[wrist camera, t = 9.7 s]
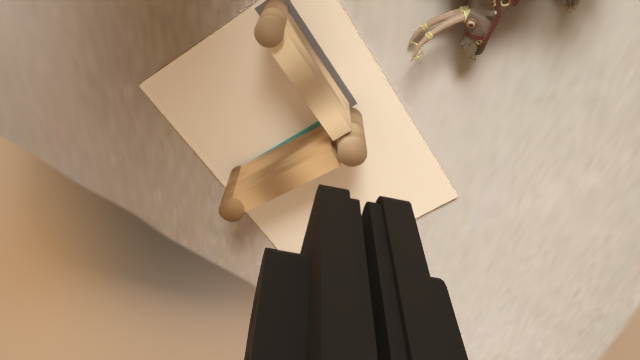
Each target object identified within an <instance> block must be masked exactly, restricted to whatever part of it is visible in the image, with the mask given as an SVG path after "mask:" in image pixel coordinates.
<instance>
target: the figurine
mask: <svg viewBox="0 0 640 360" xmlns="http://www.w3.org/2000/svg"><path fill="white" fill-rule="evenodd" d="M519 1H520V0H470V1H469V2H468V3H467V4H466V5H465V6H460V8H459V9H455V10H451V11H448V12H446V13H443V14H441V15H439V16H437V17H435V18H433V19H431V20H429V21H428V22H425V23H423V24H422V25H421V27H420V28H419V29H418V30H417V31H416V32H415V33H414V34H413V36H412V38H411V40H410V42H409V45H408V47H409V46H410V45H411V44H412V43H413V44H415V42H414V39H415V38H416V37H417V36H418V35H419V34H420V33H422V32H423V31H426V30H427V31H428V29H429V28H430V27H431V26H433V25H435V24H437V23H440V22H442V23H440V24H439V25H437V26H436V27H434V28H433V29H432V30H430V31H428V32H427V33H426V34H425V36H424V37H423V38H422V40H421V41H420V42H419V43H418V44H417V43H416V44H415V45H417V47H416V49H415V51H414V54H413V56H412V59H411V61H412V60H413V59H414V58H415V57H416V58H415V59H418V58H419V57H420V56H421V55H422V54H423V49H422V48H421V47H422V46H423V45H424V44H425V43H426V42H427V41H428V40H430V39H431V38H432V37H433V36H434V35H436V34H437V33H439V32H441V31H442V30H444V29H446V28H448V27H450V26H452V25H455V24H457V23H460V22H464V23H465V24H466V28H465V31H464V37H463V39H462V41H461V42H460V44H459V45H460V46H461V47H462V48H463V49H464V54H465V56H466V57H467V58H469V59H473V60H475V55H480V54H481V53H482V52H483V51H484V49H485V46H486V43H487V41H488V40H489V38H490V36H491V34H492V32H493V30H494V28H495V27H496V24H497V22H498V20H499V17H500V15H501V14H503V13H504V12H505V11H507V10H508V9H509V8H510V7H511V6H516V4H517V3H518V2H519ZM578 4H579V0H566V5H565V7H566V12H568V11H569V12H571V11H572V9H573V8H574V10H576V8H577V6H578ZM419 49H421V52H422V53H421V54H420V55H418V56H416V54H417V52H418V51H419Z"/></svg>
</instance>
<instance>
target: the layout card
mask: <svg viewBox="0 0 640 360" xmlns="http://www.w3.org/2000/svg"><path fill="white" fill-rule="evenodd" d="M268 1H269V0H260V1H258V2H257V3H255V4H254V5H253V6H251V7H250V8H248V9H247V10H245V11H244V12H242V13H241V14H240V15H238V16H237V17H235V18H234V19H232V20H231V21H230V22H228V23H227V24H225V25H224V26H222V27H221V28H220V29H218V30H217V31H215V32H214V33H212V34H211V35H209V36H208V37H207V38H205V39H204V40H202V41H201V42H199V43H198V44H197V45H195V46H194V47H192V48H191V49H189V50H188V51H187V52H185V53H184V54H182V55H181V56H179V57H178V58H176V59H175V60H174V61H172V62H171V63H169V64H168V65H166V66H165V67H164V68H162V69H161V70H159V71H158V72H156V73H155V74H154V75H152V76H151V77H149V78H148V79H146V80H145V81H143V82H142V83H141V84H140V85H139V87H140V88H141V89H142V90H143V92H144V93H145V94H146V95H147V96H148V97H149V99H150V100H151V101H152V102H153V103H154V105H155V106H156V107H157V108H158V109H159V110H160V112H161V113H162V114H163V115H164V116H165V117H166V119H167V120H168V121H169V122H170V123H171V124H172V126H173V127H174V128H175V129H176V130H177V132H178V133H179V134H180V135H181V136H182V137H183V139H184V140H185V141H186V142H187V143H188V144H189V146H190V147H191V148H192V149H193V150H194V151H195V153H196V154H197V155H198V156H199V157H200V159H201V160H202V161H203V162H204V163H205V164H206V166H207V167H208V168H209V169H210V170H211V171H212V173H213V174H214V175H215V176H216V177H217V178H218V180H219V181H220V182H221V183H222V184H223V186H224V187H225V188H226V185H227V182H228V179H229V176H230V173H231V170H232V169H233V168H234V167H236V166H242V165H244V164H246V163H248V162H250V161H252V160H254V159H256V158H258V157H260V156H262V155H264V154H266V153H268V152H270V151H272V150H274V149H276V148H278V147H279V146H281V145H283V144H285V143H287V142H289V141H291V140H293V139H295V138H297V137H299V136H301V135H303V134H305V133H307V132H309V131H311V130H313V129H315V128H317V127H319V126H321V123H320V122H319V120H318V119H317V117H316V116H315V115H314V113H313V112H312V110H311V109H310V108H309V106H308V105H307V103H306V102H305V100H304V99H303V98H302V96H301V95H300V93H299V92H298V91H297V89H296V88H295V86H294V85H293V83H292V82H291V81H290V79H289V78H288V76H287V75H286V74H285V72H284V71H283V69H282V68H281V66H280V65H279V64H278V62H277V61H276V59H275V58H274V57H273V55H272V54H271V52H270V51H269V49H268V48H267V47H263V46H262V45H260V44H259V43H258V42H257V41H256V39H255V36H254V29H255V26H256V24H257V22H258V19H259V17H260V15H261V13H262V11H263V9H264V6H265V4H266V3H267V2H268ZM284 1H285V2H286V3H287V5H288V7H289V13H290V15H291V16H292V18H293V19H294V21H295V22H296V24H297V25H298V27H299V28H300V30H301V31H302V33H303V34H304V36H305V37H306V39H307V40H308V42H309V43H310V45H311V46H312V48H313V49H314V51H315V52H316V54H317V55H318V57H319V58H320V60H321V61H322V63H323V64H324V66H325V67H326V69H327V70H328V72H329V73H330V75H331V76H332V78H333V79H334V81H335V82H336V84H337V85H338V87H339V88H340V90H341V91H342V93H343V95H344V96H345V98H346V99H347V101H348V102H349V107H353V108H356V109H357V110H359V111H360V113H361V115H362V119H363V126H364V133H365V140H366V147H367V158H366V160H365V161H364V162H363V163H362V164H361V165H359V166H355V167H349V166H346V165H344V164H343V163H342V162H341V166H340V167H338V168H336V169H334V170H332V171H330V172H328V173H326V174H324V175H322V176H320V177H318V178H315V179H313V180H311V181H309V182H307V183H305V184H303V185H301V186H299V187H297V188H295V189H293V190H291V191H288V192H286V193H284V194H282V195H280V196H278V197H276V198H274V199H272V200H270V201H268V202H266V203H264V204H261V205H259V206H257V207H255V208H253V209H251V210H249V211H247V212H246V213H247V214H248V215H249V216H250V217H251V218H252V220H253V221H254V222H255V223H256V224H257V225H258V227H259V228H260V229H261V230H262V231H263V232H264V234H265V235H266V236H267V237H268V238H269V240H270V241H271V242H272V243H273V244H274V245H275V247H276V248H277V249H278V250H282V251H288V252H293V253H299V254H300V252H301V248H302V244H303V240H304V237H305V233H306V229H307V225H308V221H309V217H310V214H311V210H312V206H313V202H314V198H315V195H316V191H317V188H318V186H319V184H322V185H327V186H332V187H337V188H342V189H348V190H349V191H350V198H353V199H358V200H359V201H360V208H361V215H362V212H363V209H364V206H365V204H366V202H367V201H368V202H374V203H376V200H377V199H378V197H379V196H384V197H389V198H394V199H399V200H405V201H409V202H410V203H411V205H412V209H413V213H414V217H415V218H417V217H419V216H421V215H423V214H425V213H427V212H429V211H431V210H433V209H435V208H437V207H439V206H441V205H443V204H445V203H447V202H449V201H451V200H453V199H455V198H457V197H458V195H457V193H456V191H455V190H454V188H453V186H452V185H451V183H450V182H449V180H448V178H447V177H446V175H445V173H444V172H443V170H442V169H441V167H440V165H439V164H438V162H437V160H436V159H435V157H434V155H433V154H432V152H431V151H430V149H429V147H428V146H427V144H426V142H425V141H424V139H423V138H422V136H421V134H420V133H419V131H418V129H417V128H416V126H415V125H414V123H413V121H412V120H411V118H410V116H409V115H408V113H407V112H406V110H405V108H404V107H403V105H402V103H401V102H400V100H399V98H398V97H397V95H396V94H395V92H394V90H393V89H392V87H391V85H390V84H389V82H388V81H387V79H386V77H385V76H384V74H383V72H382V71H381V69H380V68H379V66H378V64H377V63H376V61H375V59H374V58H373V56H372V54H371V53H370V51H369V50H368V48H367V46H366V45H365V43H364V41H363V40H362V38H361V37H360V35H359V33H358V32H357V30H356V28H355V27H354V25H353V24H352V22H351V20H350V19H349V17H348V15H347V14H346V12H345V11H344V9H343V7H342V6H341V4H340V2H339V1H338V0H284Z"/></svg>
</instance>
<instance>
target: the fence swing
mask: <svg viewBox="0 0 640 360" xmlns="http://www.w3.org/2000/svg"><path fill="white" fill-rule="evenodd" d="M340 166H341V161H340V160H339V157H338V142H337V139H336V140H334V141H333V140H332V139H331V137H330V136H329V135H328V133H327V132H326V130H325V129H324V127H323V126H322V125H321V126H319V127H317V128H315V129H313V130H311V131H309V132H307V133H305V134H303V135H301V136H299V137H297V138H295V139H293V140H291V141H289V142H287V143H285V144H283V145H281V146H279V147H278V148H276V149H274V150H272V151H270V152H268V153H266V154H264V155H262V156H260V157H258V158H256V159H254V160H252V161H250V162H248V163H246V164H244V165H242V166H236V167H234V168H233V169H232V170H231V173H230V176H229V179H228V182H227V185H226V189H225V192H224V195H223V198H222V201H221V204H220V207H219V213H220V215H221V217H222V218H223V219H225V220H227V221H230V222H234V221H238V220H240V219H241V218H242V216H243V213H245V212H247V211H249V210H251V209H253V208H255V207H257V206H259V205H261V204H264V203H266V202H268V201H270V200H272V199H274V198H276V197H278V196H280V195H282V194H284V193H286V192H288V191H291V190H293V189H295V188H297V187H299V186H301V185H303V184H305V183H307V182H309V181H311V180H313V179H315V178H318V177H320V176H322V175H324V174H326V173H328V172H330V171H332V170H334V169H336V168H338V167H340Z"/></svg>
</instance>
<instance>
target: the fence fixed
mask: <svg viewBox="0 0 640 360" xmlns="http://www.w3.org/2000/svg"><path fill="white" fill-rule="evenodd" d="M254 36H255V39H256V41H257V42H258V43H259V44H260V45H262V46H263V47H267V48H268V49H269V51H270V52H271V54H272V55H273V57H274V58H275V59H276V61H277V62H278V64H279V65H280V66H281V68H282V69H283V71H284V72H285V74H286V75H287V76H288V78H289V79H290V81H291V82H292V83H293V85H294V86H295V88H296V89H297V91H298V92H299V93H300V95H301V96H302V98H303V99H304V100H305V102H306V103H307V105H308V106H309V108H310V109H311V110H312V112H313V113H314V115H315V116H316V117H317V119H318V120H319V122H320V123H321V125H322V126H323V127H324V129H325V130H326V132H327V133H328V135H329V136H330V137H331V139H332V140H333V141H334V140H336V139H337V142H338V157H339V160H340V161H341V162H342V163H343V164H344V165H346V166H349V167H355V166H359V165H361V164H362V163H363V162H364V161H365V160H366V158H367V147H366V140H365V133H364V126H363V119H362V115H361V113H360V111H359V110H357V109H356V108H353V107H349V102H348V101H347V99H346V98H345V96H344V95H343V93H342V91H341V90H340V88H339V87H338V85H337V84H336V82H335V81H334V79H333V78H332V76H331V75H330V73H329V72H328V70H327V69H326V67H325V66H324V64H323V63H322V61H321V60H320V58H319V57H318V55H317V54H316V52H315V51H314V49H313V48H312V46H311V45H310V43H309V42H308V40H307V39H306V37H305V36H304V34H303V33H302V31H301V30H300V28H299V27H298V25H297V24H296V22H295V21H294V19H293V18H292V16H291V15H290V13H289V7H288V5H287V3H286V2H285V1H284V0H269V1H268V2H267V3H266V4H265V6H264V9H263V11H262V13H261V15H260V17H259V19H258V22H257V24H256V26H255V29H254Z"/></svg>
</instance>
